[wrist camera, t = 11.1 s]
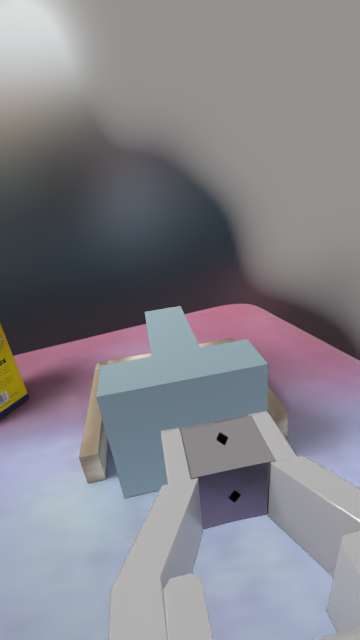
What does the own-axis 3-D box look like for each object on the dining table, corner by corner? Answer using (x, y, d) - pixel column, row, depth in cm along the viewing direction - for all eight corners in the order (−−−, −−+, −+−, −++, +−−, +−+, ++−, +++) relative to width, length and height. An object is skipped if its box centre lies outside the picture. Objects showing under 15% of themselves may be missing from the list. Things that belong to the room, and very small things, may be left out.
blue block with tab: (124, 498, 24) (96, 397, 20) (125, 392, 37) (108, 317, 33) (267, 465, 25) (268, 364, 21) (220, 374, 38) (215, 300, 34)
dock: (87, 483, 25) (79, 457, 24) (101, 382, 39) (96, 363, 38) (287, 438, 27) (288, 412, 26) (233, 357, 41) (232, 338, 40)
